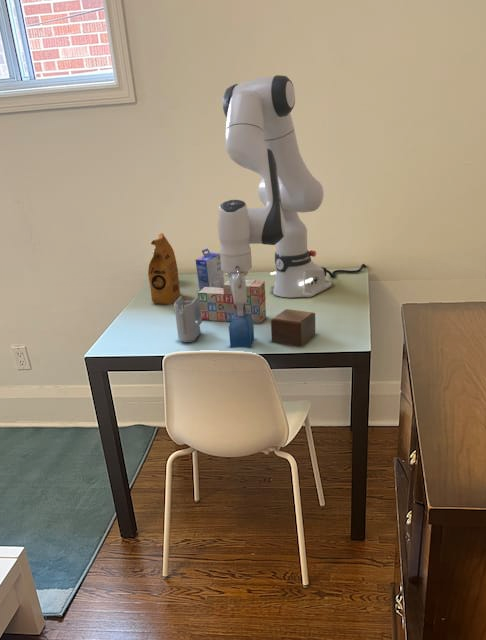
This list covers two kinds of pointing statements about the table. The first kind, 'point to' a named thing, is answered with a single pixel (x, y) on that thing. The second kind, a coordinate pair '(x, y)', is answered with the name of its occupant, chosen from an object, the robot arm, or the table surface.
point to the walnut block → (293, 327)
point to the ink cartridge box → (209, 270)
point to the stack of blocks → (222, 304)
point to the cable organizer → (188, 319)
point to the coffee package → (163, 273)
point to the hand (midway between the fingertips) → (238, 310)
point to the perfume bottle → (241, 330)
